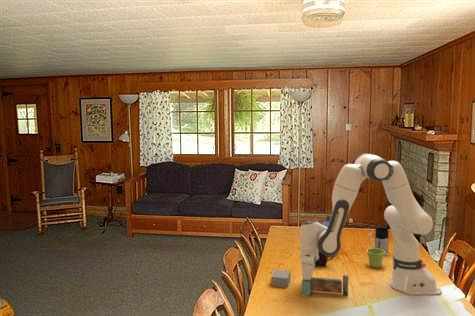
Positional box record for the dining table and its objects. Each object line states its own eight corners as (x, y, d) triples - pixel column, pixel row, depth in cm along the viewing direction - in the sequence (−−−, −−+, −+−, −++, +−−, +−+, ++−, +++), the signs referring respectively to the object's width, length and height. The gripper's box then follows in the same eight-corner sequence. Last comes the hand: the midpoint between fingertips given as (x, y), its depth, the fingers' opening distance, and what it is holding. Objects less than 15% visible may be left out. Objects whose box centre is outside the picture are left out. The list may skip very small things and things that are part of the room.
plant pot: (385, 269, 208) (386, 254, 207) (367, 268, 210) (367, 253, 209) (382, 263, 217) (383, 248, 216) (365, 262, 219) (365, 247, 218)
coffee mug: (309, 263, 219) (310, 246, 218) (322, 261, 222) (322, 244, 221) (321, 270, 208) (321, 252, 207) (334, 268, 211) (334, 250, 210)
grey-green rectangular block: (310, 293, 181) (310, 280, 180) (310, 295, 179) (310, 282, 178) (301, 292, 182) (301, 280, 181) (301, 294, 180) (301, 282, 179)
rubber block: (290, 280, 197) (290, 270, 196) (287, 288, 187) (287, 278, 187) (275, 278, 199) (274, 269, 198) (271, 286, 189) (271, 276, 189)
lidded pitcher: (392, 254, 231) (392, 230, 230) (373, 257, 226) (374, 233, 225) (382, 250, 240) (382, 226, 238) (363, 253, 234) (364, 229, 233)
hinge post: (347, 293, 180) (348, 275, 179) (348, 296, 177) (348, 277, 176) (342, 293, 180) (342, 274, 179) (342, 295, 178) (343, 276, 177)
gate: (341, 291, 180) (341, 279, 179) (341, 293, 178) (342, 281, 177) (303, 288, 184) (303, 276, 183) (302, 290, 182) (302, 278, 181)
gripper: (305, 246, 195) (305, 272, 196) (299, 260, 175) (299, 289, 176) (318, 247, 193) (317, 274, 194) (313, 261, 173) (313, 291, 175)
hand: (309, 281), depth 185 cm, fingers closed
